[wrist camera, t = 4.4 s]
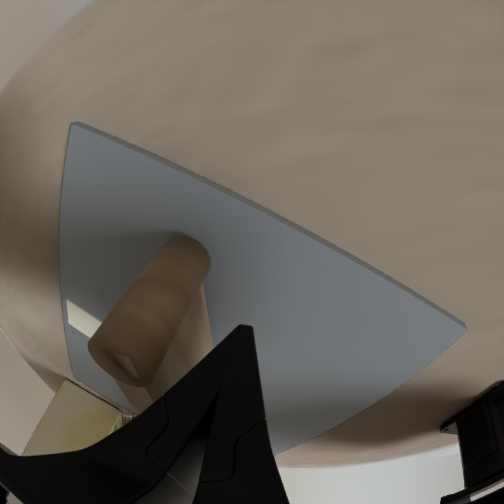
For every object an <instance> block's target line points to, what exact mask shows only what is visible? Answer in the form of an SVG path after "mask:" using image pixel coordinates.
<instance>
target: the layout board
mask: <svg viewBox="0 0 504 504" xmlns="http://www.w3.org/2000/svg"><path fill="white" fill-rule="evenodd" d="M175 236H188V237H191V238H194V239H195V240H197V241H199V242H200V243H201V244H202V245H203V246H204V247H205V248H206V250H207V251H208V253H209V256H210V260H211V266H210V269H209V271H208V273H207V275H206V277H205V279H204V281H203V286H204V293H205V299H206V305H207V311H208V317H209V323H210V329H211V335H212V340H213V346H214V348H215V347H216V346H217V345H218V344H219V343H220V342H221V341H222V340H223V339H224V338H225V337H226V336H227V335H228V334H229V333H230V332H231V331H232V330H233V329H234V328H236V327H237V326H238V325H239V324H245V325H251V326H253V329H254V336H255V343H256V350H257V357H258V364H259V371H260V378H261V385H262V392H263V399H264V406H265V413H266V420H267V425H268V432H269V437H270V442H271V448H272V451H273V455H276V454H279V453H281V452H283V451H286V450H288V449H290V448H293V447H295V446H297V445H299V444H301V443H303V442H306V441H308V440H310V439H312V438H314V437H316V436H318V435H320V434H322V433H324V432H326V431H328V430H329V429H331V428H333V427H335V426H337V425H339V424H341V423H342V422H344V421H346V420H348V419H349V418H351V417H353V416H355V415H356V414H358V413H360V412H361V411H363V410H365V409H366V408H368V407H369V406H371V405H373V404H374V403H376V402H377V401H379V400H380V399H382V398H383V397H385V396H386V395H388V394H389V393H391V392H392V391H394V390H395V389H396V388H398V387H399V386H401V385H402V384H403V383H405V382H406V381H408V380H409V379H410V378H412V377H413V376H414V375H416V374H417V373H418V372H419V371H421V370H422V369H423V368H425V367H426V366H427V365H428V364H430V363H431V362H432V361H433V360H434V359H436V358H437V357H438V356H439V355H440V354H442V353H443V352H444V351H445V350H446V349H447V348H449V347H450V346H451V345H452V344H453V343H454V342H455V341H456V340H457V339H459V338H460V337H461V336H462V335H463V334H464V333H465V332H466V331H467V330H468V329H467V327H466V325H465V323H463V322H462V321H460V320H459V319H457V318H455V317H454V316H452V315H451V314H449V313H448V312H446V311H445V310H443V309H441V308H440V307H438V306H437V305H435V304H434V303H432V302H430V301H429V300H427V299H426V298H424V297H422V296H421V295H419V294H417V293H416V292H414V291H413V290H411V289H409V288H408V287H406V286H404V285H403V284H401V283H399V282H398V281H396V280H394V279H393V278H391V277H389V276H388V275H386V274H384V273H382V272H381V271H379V270H377V269H376V268H374V267H372V266H370V265H369V264H367V263H365V262H364V261H362V260H360V259H358V258H357V257H355V256H353V255H351V254H350V253H348V252H346V251H344V250H342V249H341V248H339V247H337V246H335V245H333V244H332V243H330V242H328V241H326V240H324V239H323V238H321V237H319V236H317V235H315V234H313V233H312V232H310V231H308V230H306V229H304V228H302V227H301V226H299V225H297V224H295V223H293V222H291V221H289V220H287V219H285V218H284V217H282V216H280V215H278V214H276V213H274V212H272V211H270V210H268V209H266V208H264V207H262V206H260V205H258V204H257V203H255V202H253V201H251V200H249V199H247V198H245V197H243V196H241V195H239V194H237V193H235V192H233V191H231V190H229V189H227V188H225V187H223V186H221V185H219V184H216V183H214V182H212V181H210V180H208V179H206V178H204V177H202V176H200V175H198V174H196V173H194V172H192V171H189V170H187V169H185V168H183V167H181V166H179V165H177V164H174V163H172V162H170V161H168V160H166V159H164V158H161V157H159V156H157V155H155V154H153V153H150V152H148V151H146V150H144V149H141V148H139V147H137V146H135V145H132V144H130V143H128V142H125V141H123V140H121V139H119V138H116V137H114V136H112V135H109V134H107V133H104V132H102V131H100V130H97V129H95V128H92V127H90V126H88V125H85V124H83V123H80V122H76V123H72V124H71V129H70V135H69V140H68V146H67V152H66V159H65V167H64V175H63V184H62V195H61V209H60V237H59V255H60V283H61V297H62V308H63V317H64V326H65V333H66V340H67V346H68V352H69V358H70V363H71V368H72V373H73V377H74V378H76V379H77V380H79V381H80V382H82V383H83V384H85V385H86V386H88V387H90V388H91V389H93V390H94V391H96V392H98V393H99V394H101V395H103V396H104V397H106V398H108V399H110V400H111V401H113V402H115V403H117V404H119V405H120V406H122V407H124V408H126V409H128V410H130V411H132V412H134V413H135V414H137V415H138V413H137V412H136V411H135V409H134V408H133V406H132V405H131V404H130V402H129V401H128V399H127V398H126V396H125V395H124V393H123V392H122V390H121V389H120V387H119V386H118V384H117V383H116V381H115V380H114V378H113V377H112V376H111V375H109V374H108V373H106V372H105V371H104V370H103V369H102V368H101V367H100V366H99V365H98V364H97V363H96V362H95V361H94V360H93V358H92V357H91V355H90V353H89V351H88V347H87V344H88V341H89V340H90V339H91V337H92V336H93V334H94V333H95V332H96V330H97V329H98V328H99V326H100V325H101V323H102V322H103V321H104V319H105V318H106V317H107V315H108V314H109V313H110V311H111V310H112V309H113V308H114V306H115V305H116V304H117V302H118V301H119V300H120V298H121V297H122V296H123V295H124V293H125V292H126V291H127V290H128V288H129V287H130V286H131V284H132V283H133V282H134V281H135V279H136V278H137V277H138V276H139V275H140V273H141V272H142V271H143V270H144V268H145V267H146V266H147V265H148V264H149V262H150V261H151V260H152V259H153V258H154V256H155V255H156V254H157V253H158V252H159V250H160V249H161V248H162V247H163V246H164V244H165V243H166V242H167V241H168V240H169V239H171V238H172V237H175Z"/></svg>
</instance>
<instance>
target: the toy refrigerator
mask: <svg viewBox="0 0 504 504" xmlns="http://www.w3.org/2000/svg"><path fill="white" fill-rule="evenodd" d="M122 426H123V423H122V417H121V411H120V410H118V409H117V408H115V407H113V406H111V405H110V404H108V403H106V402H104V401H102V400H100V399H99V398H97V397H95V396H93V395H92V394H90V393H88V392H87V391H85V390H83V389H82V388H80V387H78V386H77V385H75V384H73V383H72V382H70V381H68V380H65V381H64V382H63V383H62V385H61V387H60V388H59V390H58V391H57V393H56V395H55V396H54V398H53V400H52V401H51V403H50V405H49V406H48V408H47V410H46V412H45V413H44V415H43V416H42V418H41V420H40V422H39V424H38V425H37V427H36V429H35V430H34V432H33V434H32V436H31V438H30V440H29V441H28V443H27V445H26V447H25V449H24V451H23V453H22V455H21V456H31V455H44V454H54V453H62V452H70V451H76V450H80V449H83V448H86V447H89V446H91V445H93V444H95V443H96V442H98V441H100V440H101V439H103V438H105V437H106V436H108V435H109V434H111V433H112V432H114V431H116V430H117V429H119V428H120V427H122Z"/></svg>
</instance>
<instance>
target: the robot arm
mask: <svg viewBox="0 0 504 504" xmlns="http://www.w3.org/2000/svg"><path fill="white" fill-rule="evenodd" d="M440 432H441V433H448V434H456V435H458V440H459V447H460V453H461V460H462V467H463V476H464V488H465V489H464V490H462V491H459V492H457V493H454V494H450V495H447V496H443V497H442V498H441V501H440V504H504V487H502V488H500V489H498V490H496V491H494V492H492V493H490V494H487V495H485V496H483V497H481V498H478V499H476V500H474V501H471V500H470V497H472V496H475V495H477V494H479V493H481V492H483V491H486V490H488V489H490V488H492V487H494V486H496V485H498V484H500V483H502V482H504V383H502V384H501V385H499V386H498V387H497V388H495V389H494V390H493V391H492V392H490V393H489V394H488V395H486V396H485V397H484V398H482V399H481V400H480V401H478V402H477V403H475V404H474V405H473V406H471V407H470V408H468V409H467V410H465V411H464V412H462V413H461V414H459V415H458V416H456V417H455V418H453V419H451V420H450V421H448V422H447V423H445V424H443V425H442V426H440ZM0 504H290V503H289V500H288V497H287V495H286V492H285V489H284V486H283V483H282V480H281V477H280V474H279V471H278V468H277V465H276V462H275V458H274V455H273V451H272V448H271V442H270V437H269V432H268V425H267V420H266V413H265V406H264V399H263V392H262V385H261V378H260V371H259V364H258V357H257V350H256V343H255V336H254V329H253V326H251V325H245V324H239V325H238V326H237V327H236V328H234V329H233V330H232V331H231V332H230V333H229V334H228V335H227V336H226V337H225V338H224V339H223V340H222V341H221V342H220V343H219V344H218V345H217V346H216V347H215V348H213V349H212V350H211V351H210V352H209V353H208V354H207V355H206V356H205V357H204V358H203V359H202V360H201V361H200V362H199V363H197V364H196V365H195V366H194V367H193V368H192V369H191V370H190V371H189V372H188V373H187V374H185V375H184V376H183V377H182V378H181V379H180V380H179V381H178V382H177V383H176V384H174V385H173V386H172V387H171V388H170V389H169V390H168V391H167V392H166V393H164V396H161V397H160V398H159V399H157V400H156V401H155V402H154V403H153V404H152V405H150V406H149V407H148V408H147V409H146V410H144V411H143V412H142V413H141V414H139V415H138V416H136V417H135V418H134V419H132V420H131V421H129V422H128V423H126V424H125V425H123V426H122V427H120V428H119V429H117V430H116V431H114V432H112V433H111V434H109V435H108V436H106V437H105V438H103V439H101V440H100V441H98V442H96V443H95V444H93V445H91V446H89V447H86V448H83V449H80V450H76V451H70V452H62V453H54V454H44V455H31V456H18V455H17V454H15V453H14V452H12V451H11V450H10V449H8V448H7V447H6V446H4V445H3V444H1V443H0Z"/></svg>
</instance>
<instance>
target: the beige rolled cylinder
mask: <svg viewBox="0 0 504 504" xmlns="http://www.w3.org/2000/svg"><path fill="white" fill-rule="evenodd" d="M210 266H211V260H210V256H209V253H208V251H207V250H206V248H205V247H204V246H203V245H202V244H201V243H200V242H199V241H197V240H195V239H194V238H191V237H188V236H175V237H172V238H171V239H169V240H168V241H167V242H166V243H165V244H164V246H163V247H162V248H161V249H160V250H159V252H158V253H157V254H156V255H155V256H154V258H153V259H152V260H151V261H150V262H149V264H148V265H147V266H146V267H145V268H144V270H143V271H142V272H141V273H140V275H139V276H138V277H137V278H136V279H135V281H134V282H133V283H132V284H131V286H130V287H129V288H128V290H127V291H126V292H125V293H124V295H123V296H122V297H121V298H120V300H119V301H118V302H117V304H116V305H115V306H114V308H113V309H112V310H111V311H110V313H109V314H108V315H107V317H106V318H105V319H104V321H103V322H102V323H101V325H100V326H99V328H98V329H97V330H96V332H95V333H94V334H93V336H92V337H91V339H90V340H89V341H88V344H87V347H88V351H89V353H90V355H91V357H92V358H93V360H94V361H95V362H96V363H97V364H98V365H99V366H100V367H101V368H102V369H103V370H104V371H105V372H106V373H108V374H109V375H111V376H112V377H113V378H114V380H115V381H116V383H117V384H118V386H119V387H120V389H121V390H122V392H123V393H124V395H125V396H126V398H127V399H128V401H129V402H130V404H131V405H132V406H133V408H134V409H135V411H136V412H137V413H138V415H139V414H141V413H142V412H143V411H144V410H146V409H147V408H148V407H149V406H150V405H152V404H153V403H154V402H155V401H156V400H157V399H159V398H160V397H161V396H164V393H166V392H167V391H168V390H169V389H170V388H171V387H172V386H173V385H174V384H176V383H177V382H178V381H179V380H180V379H181V378H182V377H183V376H184V375H185V374H187V373H188V372H189V371H190V370H191V369H192V368H193V367H194V366H195V365H196V364H197V363H199V362H200V361H201V360H202V359H203V358H204V357H205V356H206V355H207V354H208V353H209V352H210V351H211V350H212V349H213V348H214V346H213V340H212V335H211V329H210V323H209V317H208V311H207V305H206V299H205V293H204V286H203V281H204V279H205V277H206V275H207V273H208V271H209V269H210Z"/></svg>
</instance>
